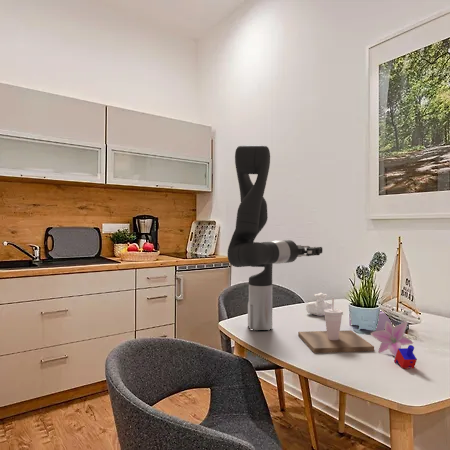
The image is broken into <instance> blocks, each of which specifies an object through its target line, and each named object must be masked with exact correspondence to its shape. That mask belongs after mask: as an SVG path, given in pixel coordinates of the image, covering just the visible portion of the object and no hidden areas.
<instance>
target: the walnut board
mask: <svg viewBox="0 0 450 450" xmlns="http://www.w3.org/2000/svg"><path fill="white" fill-rule="evenodd" d="M297 336H298V337H299V338H300V339H301V341H302V342H303V341H304V342H305V343H306V344H305V345H306V346H307V347H308V348H309V349H310V351H312V353H313V354H321V353H322V354H323V353H326V354H328V353H329V354H330V353H357V352H358V353H359V352H375V346H374V345H373V344H371V343H370V342H368V341H367V340H366V339H365V338H362V337H361V336H360V335H359V334H357V333H356V332H354V331H353V330H351V329H349V330H340V333H339V339H338V340H329V339H328V338H327V330H320V331H314V330H313V331H298V333H297ZM304 342H303V343H304Z"/></svg>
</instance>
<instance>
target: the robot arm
mask: <svg viewBox="0 0 450 450" xmlns="http://www.w3.org/2000/svg"><path fill="white" fill-rule="evenodd" d="M234 164H235V171H236V177H237V180H238V187H239V195H240V197H239V198H240V203H239V206H238V208H237V212H236V219H235V220H236V221H235V229H234V232H233V234H232V236H231V239H230V241H229V245H228V248H227V260H228V263H230V265H231V266H232V267H234V268H243V267H253V268H264V269H263V270H261V272H259V273H256V274H252V275H250V276H249V277H248V302H247V327H248V326H249V327H248V329H249V328H250V329H254V330H253V331H255V330H268V331H270V329H271V330H273V264H275V265H279V264H280V265H281V264H287V263H288V264H289V263H293V262H295V260H297V258H302V257H311V256H320V254H323V247H322V246H313V247H312V246H310V245H302V244H296V242H295V241H293V240H291V239H284V240H272V241H263V242H257V241H256V242H255V239H256V238H257V236H258V235H259V233H260V232H261V231H262V230H263V229H264V227H265V226H266V224H267V222H268V203H267V201H266V199H265V197H264V194H265V190H266V185H267V181H268V176H269V173H270V166H271V152H270V149H269V147H268V145H262V144H261V145H260V144H259V145H258V144H257V145H256V144H255V145H254V144H253V145H250V144H249V145H248V144H247V145H239V146H238V145H237V148H236V149H235V153H234ZM250 175H256V180H255V182H254V183H253V182H252V179H251V178H250V177H251V176H250ZM250 329H249V330H250Z"/></svg>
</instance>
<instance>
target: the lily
mask: <svg viewBox="0 0 450 450" xmlns="http://www.w3.org/2000/svg"><path fill="white" fill-rule="evenodd" d="M407 326H408V322H407V321H405V322H402V323H401V324H399V325H397V326H395V327H394V328H393V326H392V325H391V324H390V323H389V322H388V321H386V323H385V330H380V331H371V332H370V335H371V336H372V337H373V338H374V339H376V340H377V341H378V342H380V344H379V347H378V350H377V352H378V353H379V354H380V353H381V354H382V353H383V352H386V351H387V350H389V352H390V353H391V354H392V355H393V357H394V358H395V357H396V354H397V351H398V348H402V346H407V345H408V346H409V345H412V344H413V343H414V342H413V341H412V340H411V339H410V338H408V337H406V336H405V333H406V329H407V328H408V327H407Z"/></svg>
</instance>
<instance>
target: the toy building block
mask: <svg viewBox="0 0 450 450" xmlns="http://www.w3.org/2000/svg"><path fill="white" fill-rule="evenodd" d="M414 349H415V347H414V345H412V344H408V347H406V348H405V347H404V348H403V347H401V348H398V351H397V354H396V357H395V356H394V361H393V362H394V363H395V364H399V366H400V368H401V369H414V368H415V366H416V363H417V360H418V359H417V357H416V355H415V354H414Z"/></svg>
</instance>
